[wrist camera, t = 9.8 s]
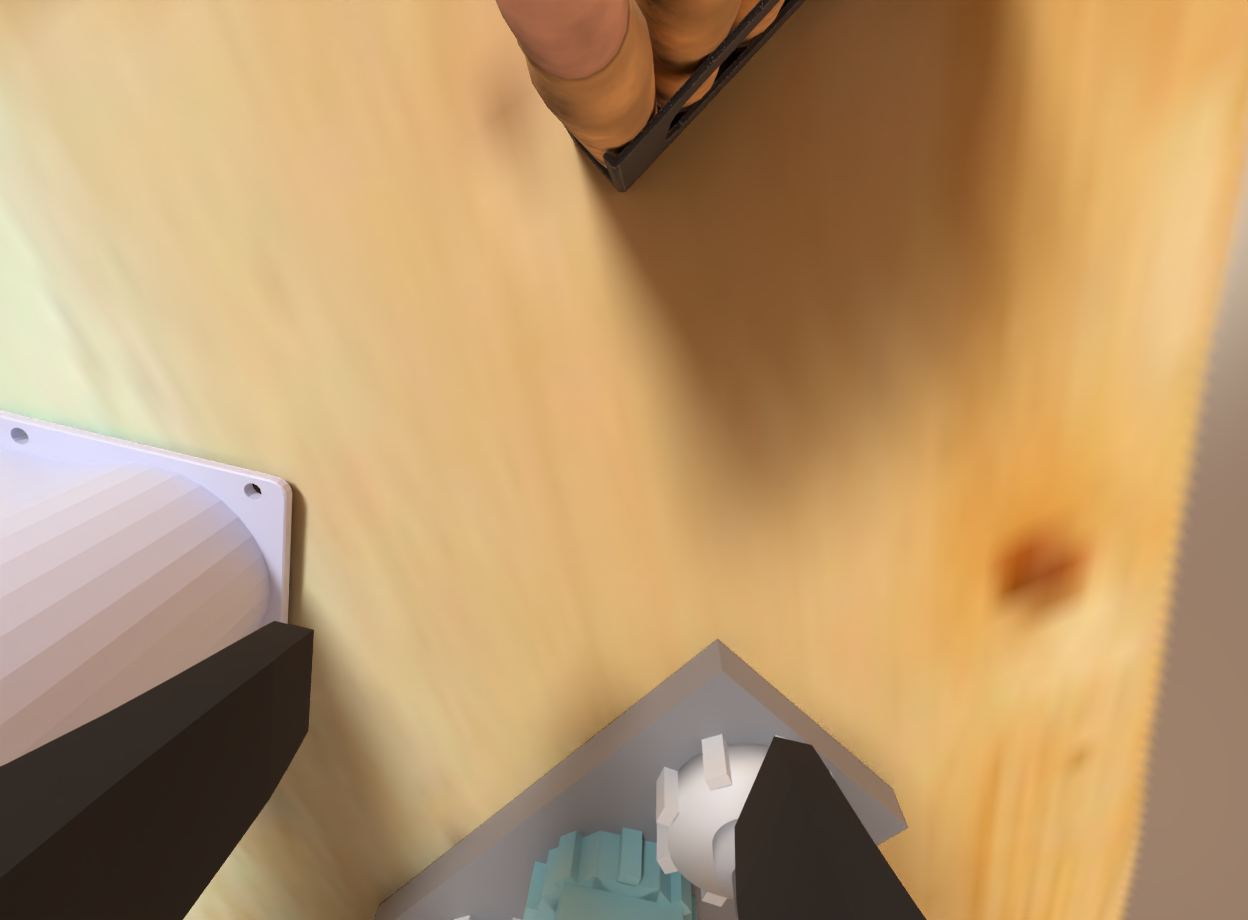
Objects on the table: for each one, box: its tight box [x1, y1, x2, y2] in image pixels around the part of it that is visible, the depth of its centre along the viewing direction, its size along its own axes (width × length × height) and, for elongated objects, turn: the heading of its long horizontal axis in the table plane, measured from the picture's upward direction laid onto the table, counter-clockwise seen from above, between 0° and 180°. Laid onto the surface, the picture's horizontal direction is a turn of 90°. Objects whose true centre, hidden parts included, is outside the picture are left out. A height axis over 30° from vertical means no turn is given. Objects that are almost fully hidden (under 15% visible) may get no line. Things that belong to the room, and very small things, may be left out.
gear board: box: [374, 639, 908, 920], centre depth 21 cm, size 20×9×5 cm, turn 137°
